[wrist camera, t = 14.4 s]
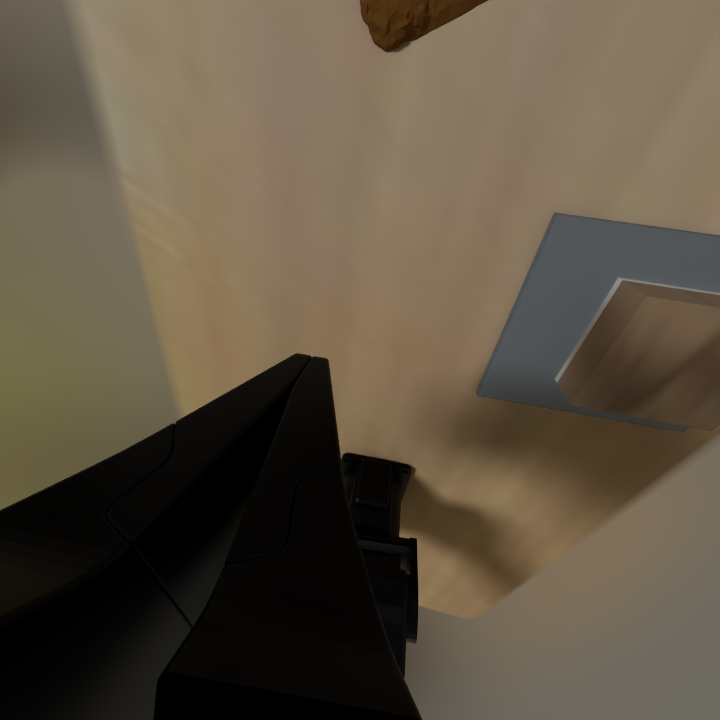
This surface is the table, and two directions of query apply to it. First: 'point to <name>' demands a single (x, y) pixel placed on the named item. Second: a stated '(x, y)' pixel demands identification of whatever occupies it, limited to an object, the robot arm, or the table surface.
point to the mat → (586, 300)
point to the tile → (650, 356)
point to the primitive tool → (409, 18)
